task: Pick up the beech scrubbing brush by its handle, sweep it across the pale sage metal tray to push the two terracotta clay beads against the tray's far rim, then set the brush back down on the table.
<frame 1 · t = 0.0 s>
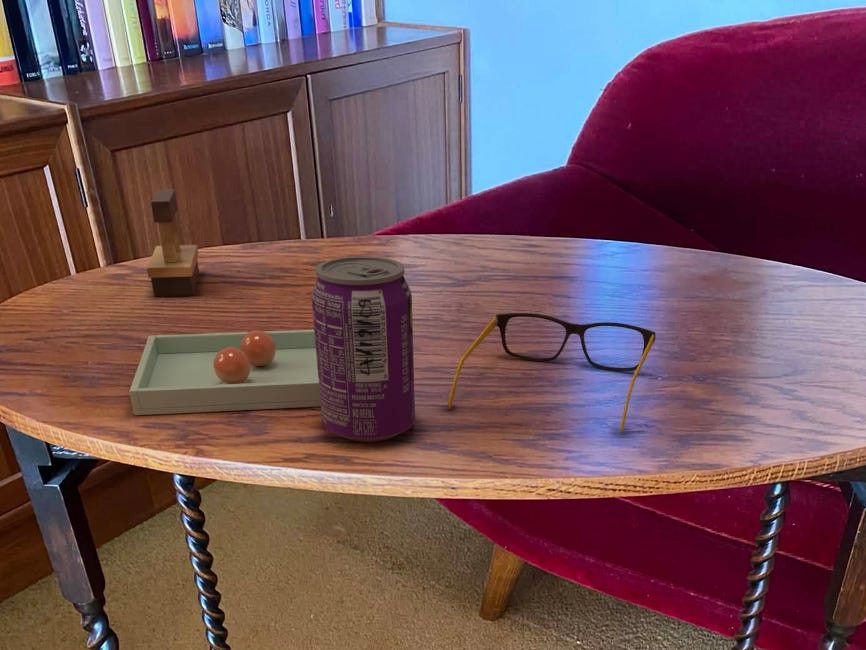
bead b: (258, 348, 82), point 2 cm above the table, touching tray
eyeglasses: (554, 392, 81), on the table
tray: (254, 379, 82), on the table
beverage can: (369, 431, 74), on the table
bead a: (232, 366, 79), point 2 cm above the table, touching tray
brush: (177, 284, 104), on the table
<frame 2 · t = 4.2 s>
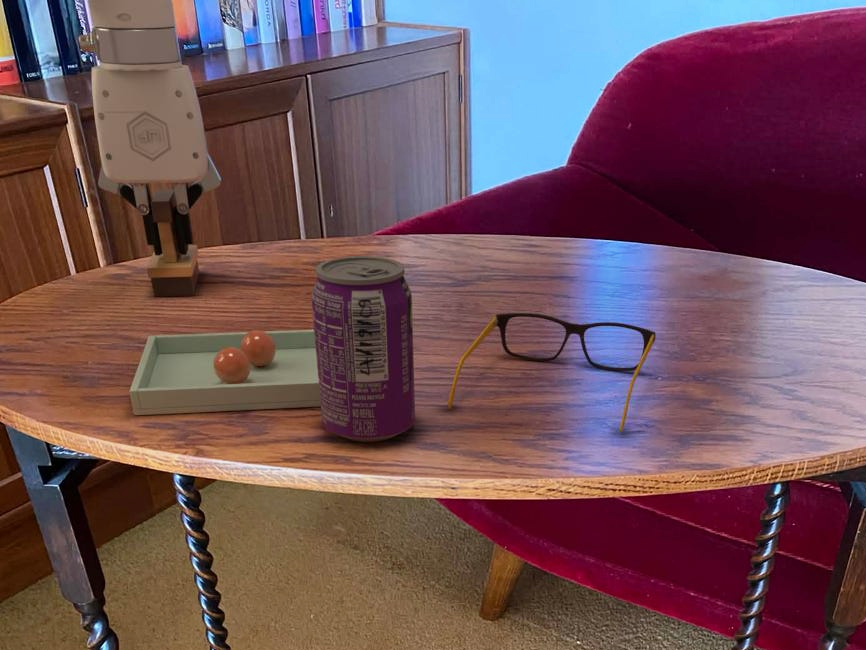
hand: (171, 250, 102), 4 cm above the table, tool pointing down, fingers closed on brush
brush: (177, 284, 104), on the table, touching gripper
everything else where it was.
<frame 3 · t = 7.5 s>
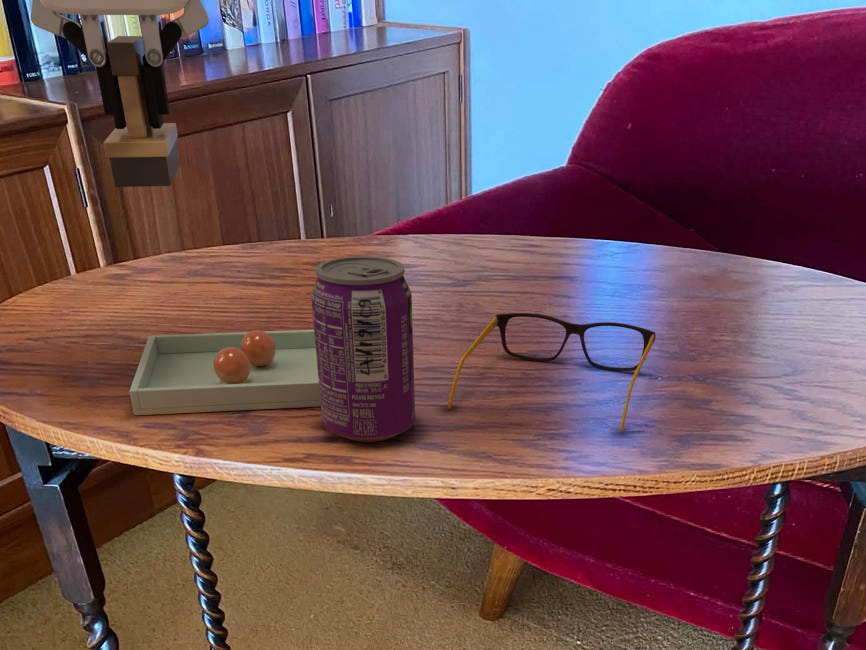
hand: (139, 124, 72), 19 cm above the table, tool pointing down, fingers closed on brush
brush: (148, 175, 75), point 15 cm above the table, touching gripper
everything else where it was.
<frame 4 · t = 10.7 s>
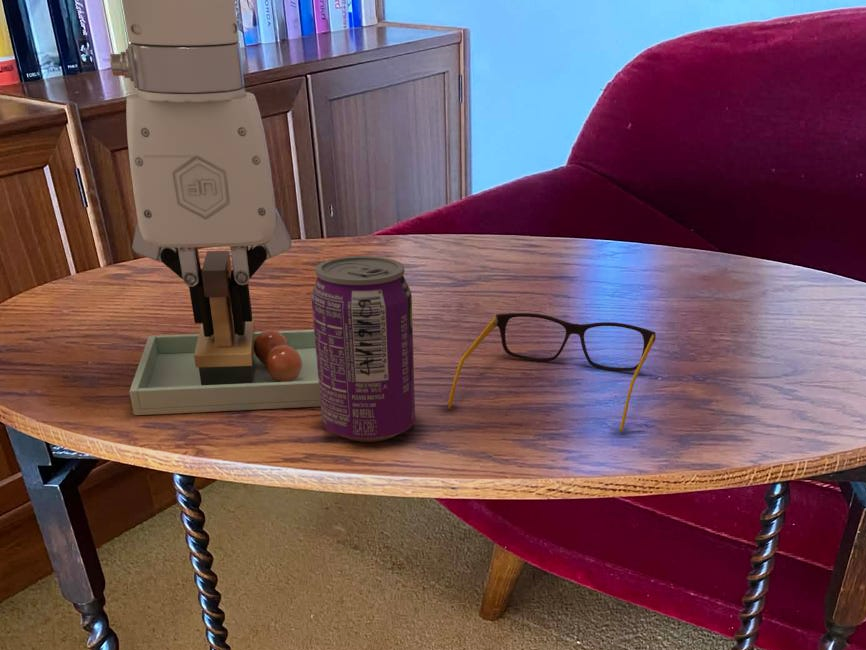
hand: (225, 329, 79), 4 cm above the table, tool pointing down, fingers closed on brush
bead b: (271, 348, 83), point 2 cm above the table, tilted 43°, touching tray
bead a: (283, 363, 79), point 2 cm above the table, tilted 159°, touching tray
brush: (230, 371, 81), point 1 cm above the table, touching gripper
everything else where it was.
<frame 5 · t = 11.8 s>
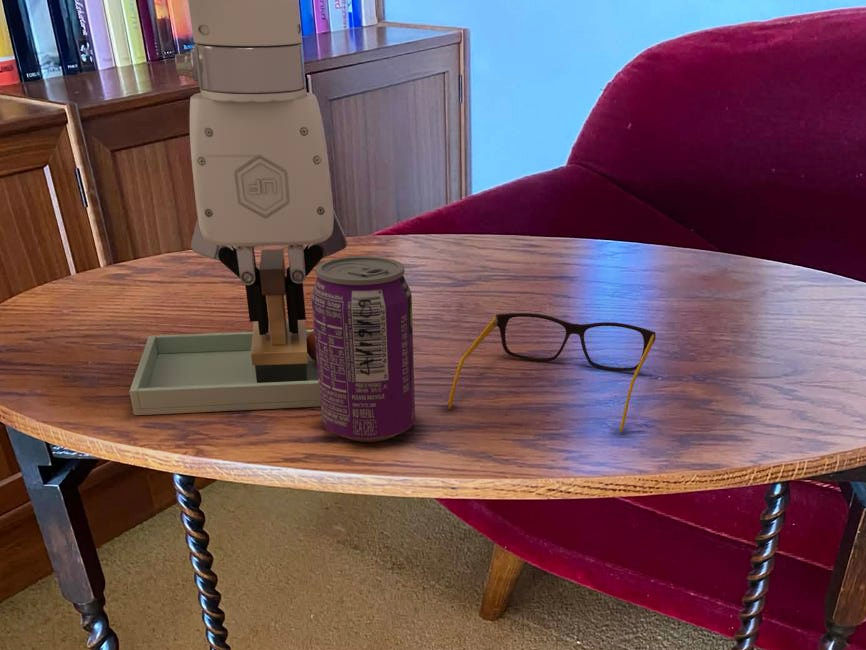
hand: (279, 327, 80), 4 cm above the table, tool pointing down, fingers closed on brush
bead b: (323, 345, 83), point 2 cm above the table, tilted 149°, touching tray
bead a: (335, 361, 80), point 2 cm above the table, tilted 40°, touching tray
brush: (282, 369, 82), point 1 cm above the table, touching gripper
everything else where it was.
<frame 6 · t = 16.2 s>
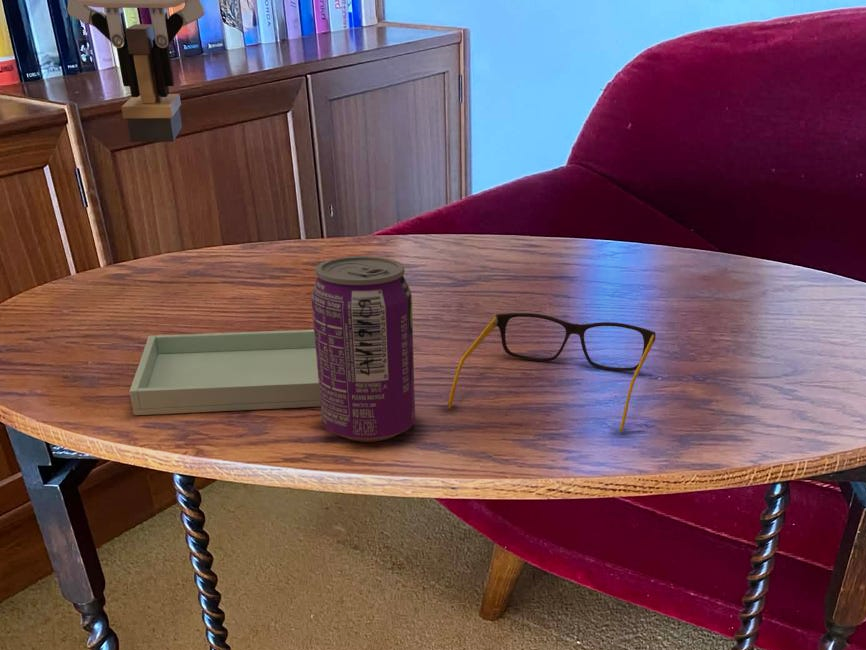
hand: (150, 93, 93), 18 cm above the table, tool pointing down, fingers closed on brush
bead b: (333, 345, 83), point 2 cm above the table, tilted 115°, touching tray
brush: (157, 134, 95), point 15 cm above the table, touching gripper
everything else where it was.
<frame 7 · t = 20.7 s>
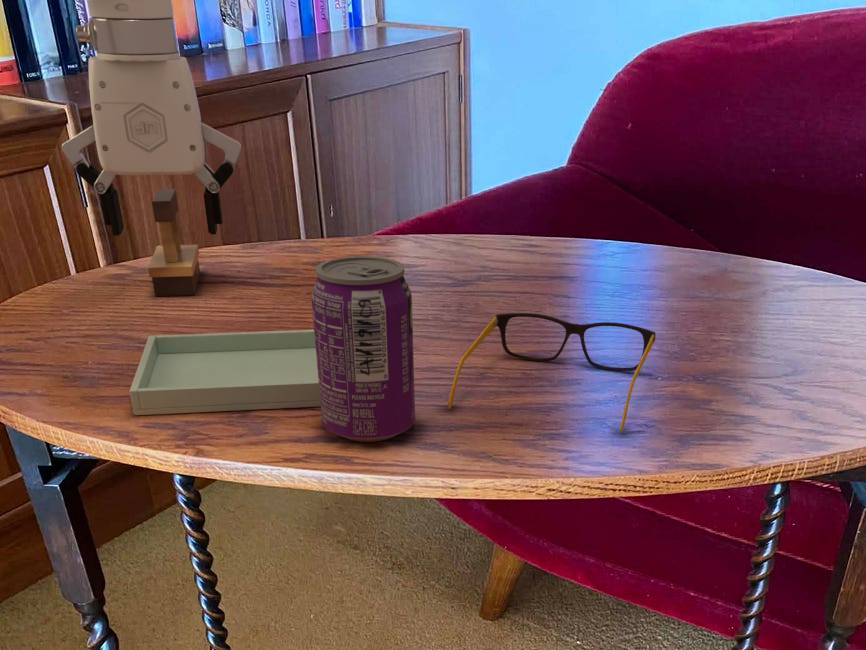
hand: (166, 232, 101), 5 cm above the table, tool pointing down, fingers open, 9 cm apart
brush: (178, 284, 104), on the table
everything else where it was.
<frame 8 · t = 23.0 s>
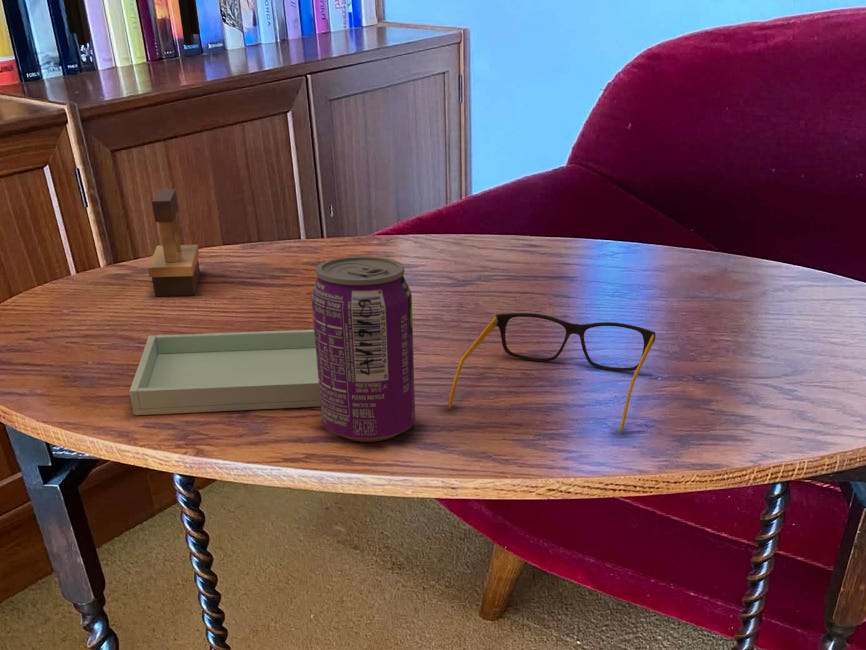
hand: (137, 43, 91), 22 cm above the table, tool pointing down, fingers open, 9 cm apart
nothing on the table moved.
at the end: bead a inside the target area on the tray (2.1 cm from its centre), point 2.0 cm above the tray's base; bead b inside the target area on the tray (2.2 cm from its centre), point 2.0 cm above the tray's base; brush inside the target area (0.1 cm from its centre), on the table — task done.
